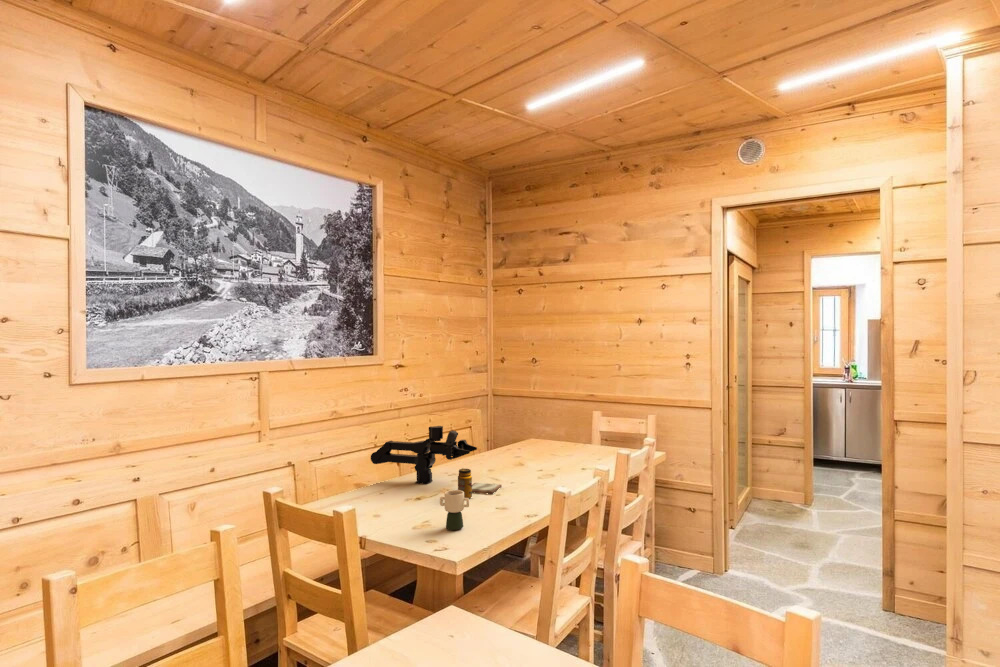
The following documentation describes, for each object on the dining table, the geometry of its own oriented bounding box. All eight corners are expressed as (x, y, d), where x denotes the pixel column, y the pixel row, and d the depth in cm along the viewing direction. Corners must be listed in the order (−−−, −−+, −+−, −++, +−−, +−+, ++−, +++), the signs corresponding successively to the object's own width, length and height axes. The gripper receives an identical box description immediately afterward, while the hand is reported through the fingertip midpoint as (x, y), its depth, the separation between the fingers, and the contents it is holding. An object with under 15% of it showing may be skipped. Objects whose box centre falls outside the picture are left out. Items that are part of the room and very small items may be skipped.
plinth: (464, 492, 255) (464, 488, 255) (475, 485, 267) (475, 482, 267) (492, 494, 251) (492, 491, 251) (501, 487, 263) (501, 483, 263)
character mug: (471, 526, 208) (471, 490, 208) (466, 532, 201) (466, 495, 201) (443, 524, 210) (442, 489, 210) (437, 531, 203) (436, 494, 203)
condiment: (476, 497, 246) (476, 469, 247) (461, 501, 241) (460, 472, 241) (465, 494, 252) (465, 467, 252) (450, 498, 246) (449, 470, 246)
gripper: (434, 434, 262) (465, 436, 257) (450, 428, 280) (480, 430, 275) (434, 458, 262) (465, 461, 257) (450, 451, 280) (480, 453, 275)
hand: (473, 450), depth 266 cm, fingers open, 9 cm apart
